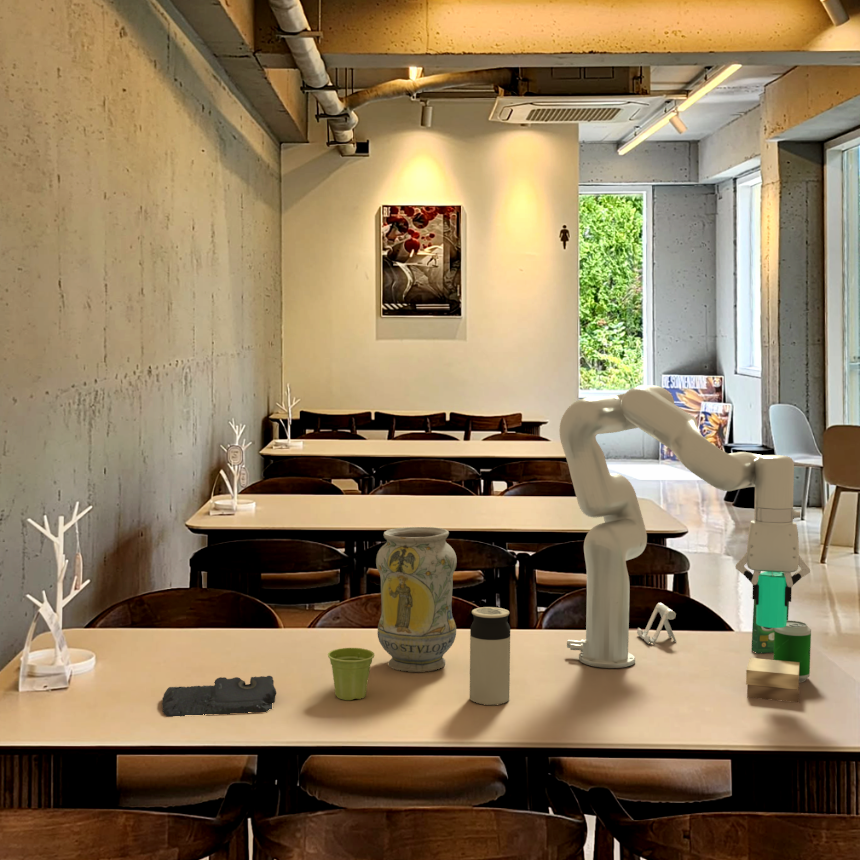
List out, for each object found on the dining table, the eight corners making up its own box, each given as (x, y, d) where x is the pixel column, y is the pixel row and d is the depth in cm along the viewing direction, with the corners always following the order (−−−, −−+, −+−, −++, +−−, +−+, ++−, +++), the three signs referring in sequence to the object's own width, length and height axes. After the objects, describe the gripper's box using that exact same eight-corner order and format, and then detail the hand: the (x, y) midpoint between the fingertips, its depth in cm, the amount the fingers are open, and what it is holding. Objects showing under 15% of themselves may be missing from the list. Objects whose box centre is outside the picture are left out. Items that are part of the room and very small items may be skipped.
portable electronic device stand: (637, 636, 270) (637, 603, 270) (667, 635, 271) (668, 602, 271) (647, 645, 262) (648, 611, 261) (679, 645, 263) (680, 610, 262)
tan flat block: (747, 699, 222) (747, 685, 222) (748, 685, 232) (748, 671, 231) (798, 704, 219) (799, 690, 219) (798, 690, 229) (798, 676, 228)
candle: (779, 620, 227) (780, 563, 227) (791, 627, 221) (792, 569, 221) (751, 621, 227) (752, 564, 226) (762, 628, 221) (763, 569, 220)
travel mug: (482, 708, 213) (483, 617, 212) (462, 696, 221) (463, 608, 219) (516, 702, 217) (518, 613, 216) (496, 691, 224) (497, 605, 223)
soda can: (812, 684, 231) (813, 628, 230) (774, 682, 233) (776, 626, 232) (807, 674, 238) (808, 620, 238) (771, 672, 240) (772, 618, 239)
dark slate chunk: (164, 696, 221) (164, 672, 221) (274, 690, 225) (274, 668, 225) (159, 720, 206) (159, 696, 206) (277, 714, 210) (277, 690, 210)
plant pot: (381, 692, 223) (381, 650, 223) (363, 705, 214) (363, 662, 214) (339, 687, 226) (339, 645, 226) (320, 700, 217) (320, 657, 217)
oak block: (746, 684, 222) (746, 669, 222) (749, 671, 232) (749, 657, 231) (797, 689, 219) (798, 674, 219) (799, 676, 228) (799, 662, 228)
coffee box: (781, 649, 259) (783, 594, 258) (788, 652, 256) (789, 597, 255) (750, 651, 257) (752, 596, 257) (756, 654, 255) (758, 598, 254)
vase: (361, 670, 239) (362, 534, 237) (394, 650, 255) (395, 522, 253) (438, 680, 232) (439, 540, 230) (467, 658, 248) (468, 528, 247)
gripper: (816, 515, 224) (814, 603, 225) (731, 511, 229) (729, 597, 230) (818, 520, 217) (816, 611, 218) (729, 516, 222) (728, 605, 223)
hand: (771, 603), depth 224 cm, fingers closed on candle, 4 cm apart
